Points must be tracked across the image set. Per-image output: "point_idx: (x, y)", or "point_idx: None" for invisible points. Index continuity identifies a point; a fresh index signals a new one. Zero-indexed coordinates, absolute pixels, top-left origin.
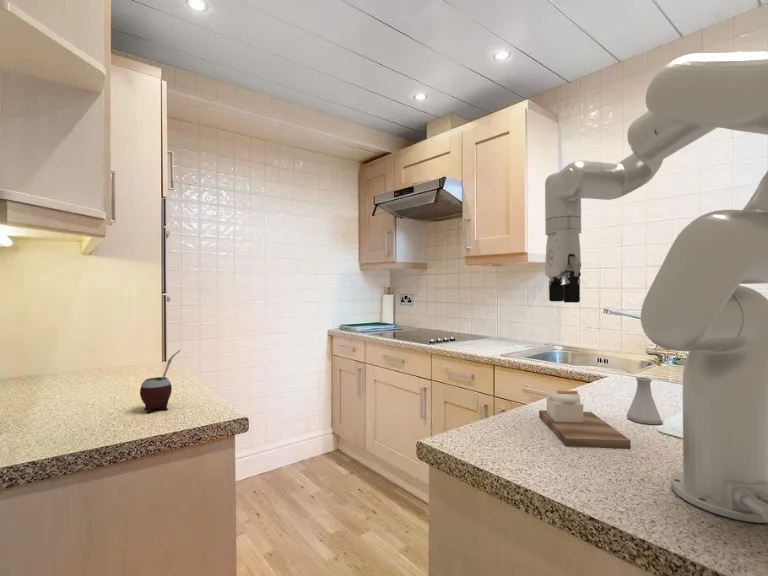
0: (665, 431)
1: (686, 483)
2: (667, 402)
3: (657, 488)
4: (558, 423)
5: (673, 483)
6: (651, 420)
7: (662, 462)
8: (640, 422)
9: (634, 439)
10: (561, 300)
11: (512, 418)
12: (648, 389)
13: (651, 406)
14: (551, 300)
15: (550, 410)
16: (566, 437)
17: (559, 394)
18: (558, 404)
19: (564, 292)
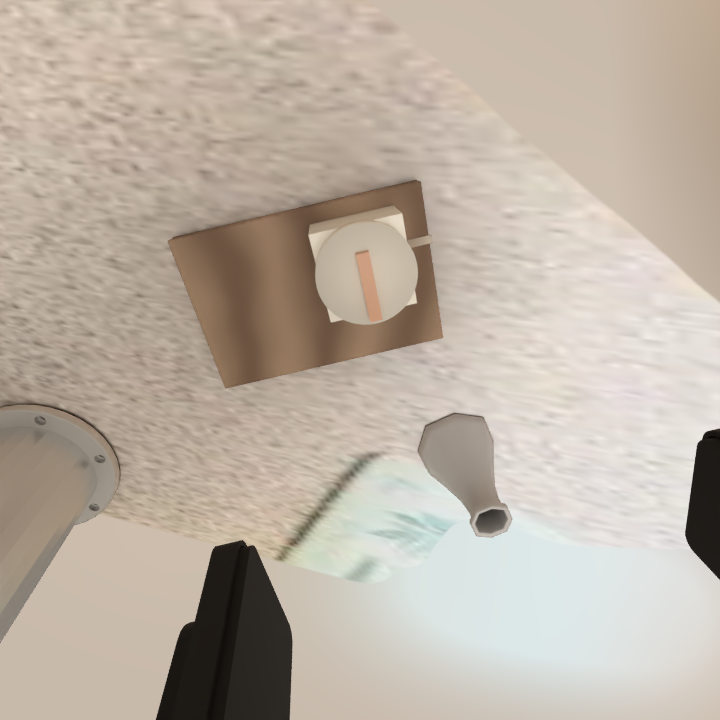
0: (380, 466)
1: (13, 430)
2: (614, 518)
3: (25, 382)
4: (295, 233)
5: (19, 411)
6: (423, 457)
7: (174, 419)
8: (423, 434)
9: (299, 398)
10: (688, 531)
11: (375, 79)
12: (466, 507)
13: (444, 480)
14: (703, 445)
15: (354, 217)
16: (174, 243)
17: (348, 258)
18: (311, 245)
19: (192, 647)
